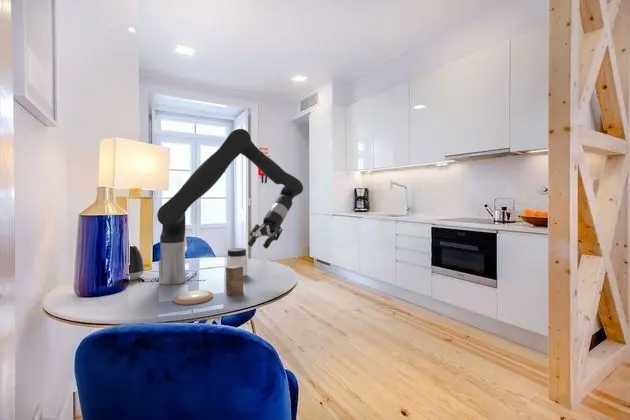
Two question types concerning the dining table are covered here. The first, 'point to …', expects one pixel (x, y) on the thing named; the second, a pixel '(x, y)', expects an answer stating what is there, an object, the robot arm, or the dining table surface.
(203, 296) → the terracotta dish
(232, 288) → the walnut block
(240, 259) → the jar
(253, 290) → the dining table surface
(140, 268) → the dark grey tapered dome
